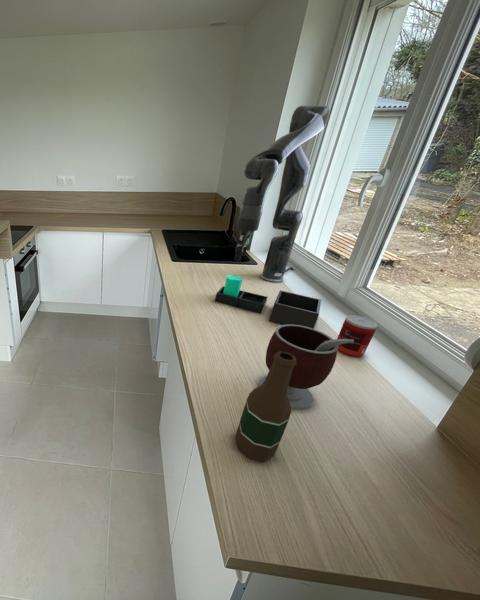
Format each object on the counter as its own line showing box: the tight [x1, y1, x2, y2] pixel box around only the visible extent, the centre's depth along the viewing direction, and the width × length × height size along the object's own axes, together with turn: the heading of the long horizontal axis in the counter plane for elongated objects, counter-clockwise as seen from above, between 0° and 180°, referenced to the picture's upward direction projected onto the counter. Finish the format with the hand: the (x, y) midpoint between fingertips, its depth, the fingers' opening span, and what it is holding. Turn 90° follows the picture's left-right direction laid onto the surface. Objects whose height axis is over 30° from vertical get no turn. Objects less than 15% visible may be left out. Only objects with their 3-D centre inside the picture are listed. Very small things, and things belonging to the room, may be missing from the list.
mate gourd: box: [258, 324, 354, 410], centre depth 80 cm, size 16×14×20 cm
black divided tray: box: [214, 285, 268, 315], centre depth 132 cm, size 9×18×4 cm, turn 53°
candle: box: [223, 274, 243, 297], centre depth 133 cm, size 6×6×12 cm
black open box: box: [268, 290, 322, 329], centre depth 120 cm, size 15×14×8 cm
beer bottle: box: [235, 351, 297, 463], centre depth 64 cm, size 8×8×24 cm
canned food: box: [336, 314, 379, 358], centre depth 101 cm, size 8×8×11 cm
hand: (239, 258), depth 127 cm, fingers open, 8 cm apart
